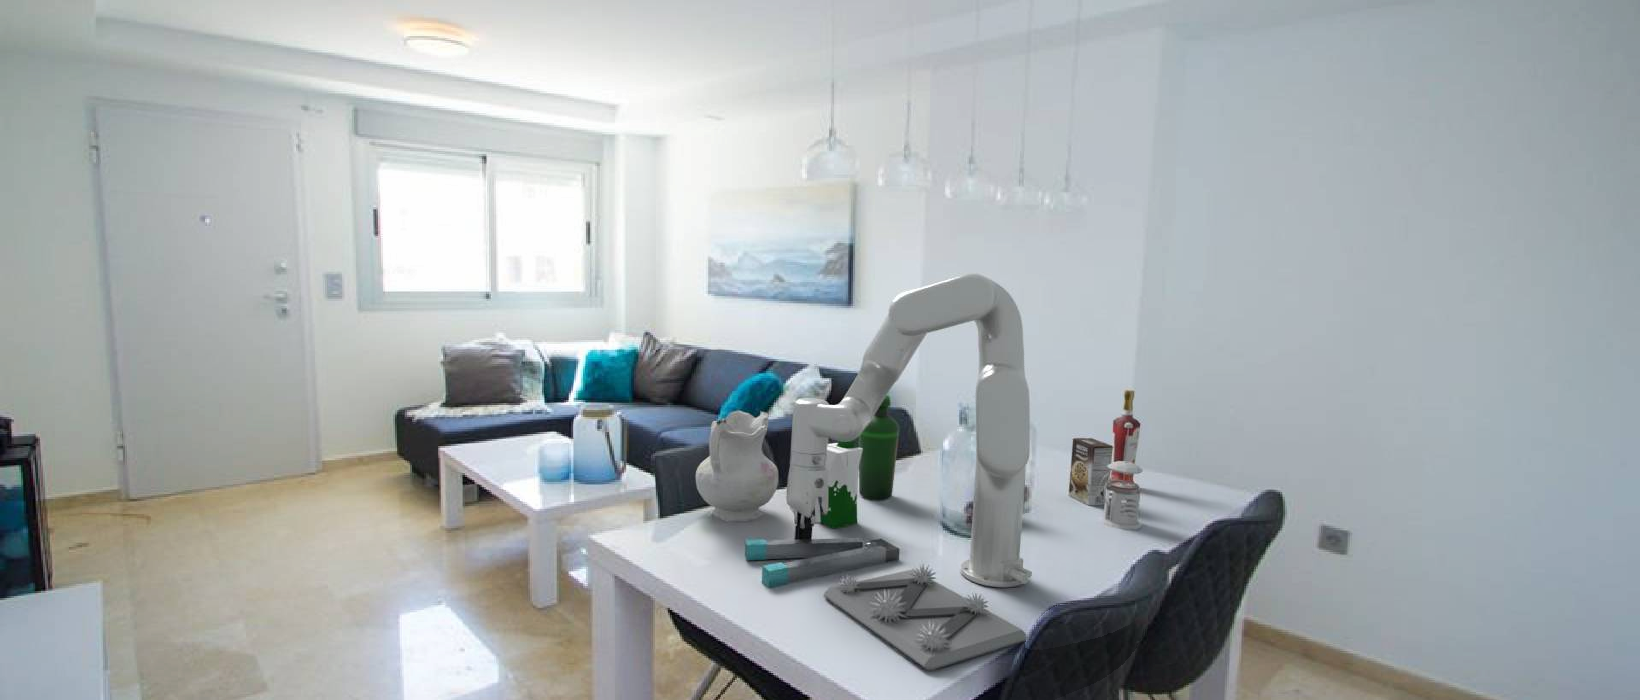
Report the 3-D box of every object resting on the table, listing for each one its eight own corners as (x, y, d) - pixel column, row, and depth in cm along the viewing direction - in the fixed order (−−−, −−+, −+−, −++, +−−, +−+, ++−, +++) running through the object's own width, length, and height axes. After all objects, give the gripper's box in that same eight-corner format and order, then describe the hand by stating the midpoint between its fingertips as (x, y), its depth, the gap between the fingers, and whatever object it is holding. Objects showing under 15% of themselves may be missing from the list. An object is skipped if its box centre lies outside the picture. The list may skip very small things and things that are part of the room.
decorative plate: (1030, 645, 124) (1033, 603, 123) (927, 678, 112) (930, 632, 111) (913, 578, 149) (915, 543, 148) (820, 599, 138) (822, 561, 137)
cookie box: (1067, 495, 208) (1071, 437, 207) (1087, 494, 210) (1091, 437, 209) (1088, 505, 200) (1093, 445, 198) (1108, 504, 202) (1113, 444, 200)
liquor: (1115, 481, 225) (1123, 387, 223) (1139, 487, 220) (1148, 391, 217) (1102, 484, 221) (1110, 389, 218) (1126, 491, 215) (1135, 393, 212)
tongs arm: (871, 550, 160) (872, 535, 160) (877, 558, 156) (878, 543, 155) (744, 554, 155) (745, 539, 155) (747, 563, 151) (747, 547, 150)
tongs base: (880, 549, 162) (881, 534, 162) (899, 559, 157) (900, 544, 156) (752, 574, 146) (753, 558, 146) (768, 587, 140) (769, 570, 140)
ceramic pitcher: (760, 538, 168) (773, 429, 166) (676, 524, 171) (687, 416, 168) (780, 509, 190) (792, 412, 187) (705, 496, 193) (716, 400, 190)
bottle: (902, 495, 202) (908, 391, 199) (884, 504, 193) (889, 395, 190) (867, 487, 208) (872, 386, 205) (847, 496, 199) (852, 390, 196)
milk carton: (862, 523, 178) (867, 439, 176) (834, 531, 172) (838, 444, 170) (837, 513, 185) (841, 432, 183) (809, 520, 179) (812, 437, 177)
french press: (1150, 527, 184) (1160, 425, 182) (1113, 531, 180) (1122, 427, 177) (1121, 514, 193) (1129, 417, 191) (1084, 518, 189) (1092, 419, 186)
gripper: (843, 466, 153) (837, 554, 155) (805, 448, 165) (800, 530, 167) (811, 469, 149) (805, 559, 151) (775, 451, 161) (770, 534, 163)
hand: (802, 543), depth 159 cm, fingers closed
